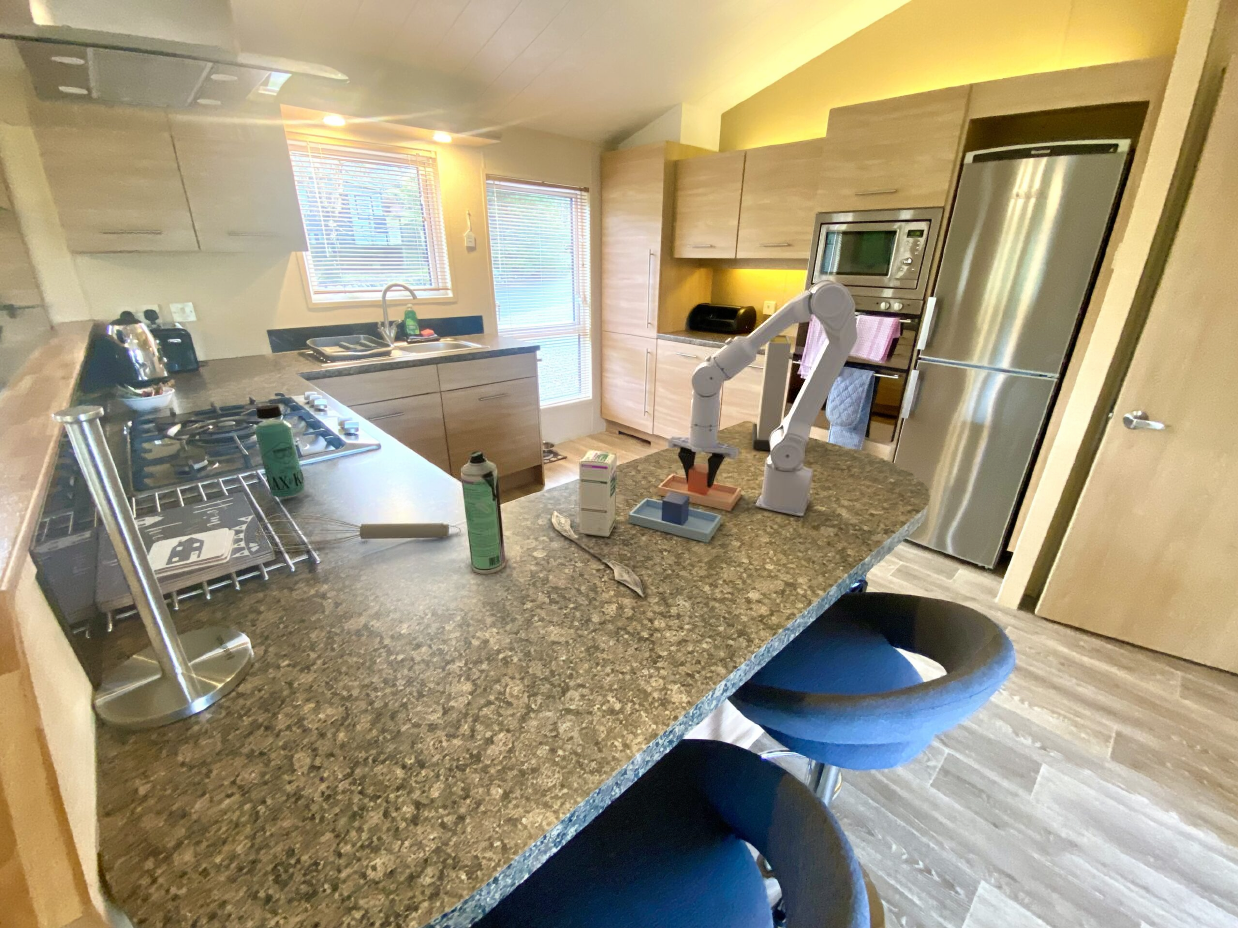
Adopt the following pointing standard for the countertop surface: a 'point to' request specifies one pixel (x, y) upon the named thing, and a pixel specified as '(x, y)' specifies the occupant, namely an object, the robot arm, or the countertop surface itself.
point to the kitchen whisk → (372, 531)
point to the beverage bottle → (278, 453)
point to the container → (772, 391)
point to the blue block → (675, 508)
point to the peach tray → (715, 497)
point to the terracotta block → (698, 479)
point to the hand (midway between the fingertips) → (699, 483)
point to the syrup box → (597, 493)
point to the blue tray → (695, 527)
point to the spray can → (483, 514)
